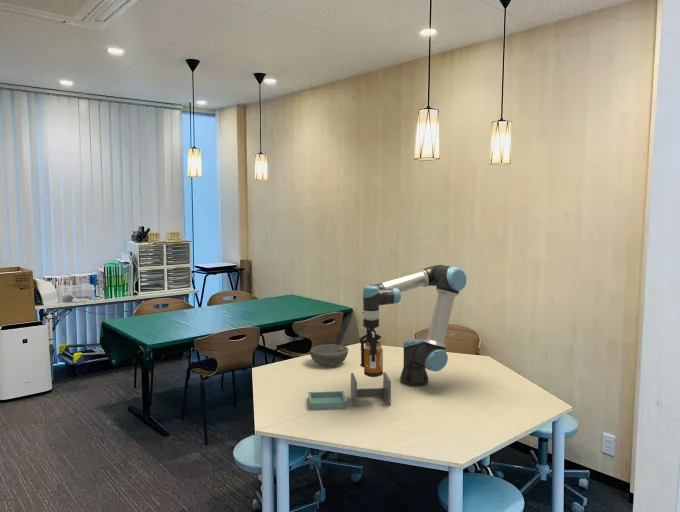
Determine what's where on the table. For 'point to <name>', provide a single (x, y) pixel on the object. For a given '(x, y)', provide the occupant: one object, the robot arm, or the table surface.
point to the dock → (371, 390)
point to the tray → (327, 400)
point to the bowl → (329, 354)
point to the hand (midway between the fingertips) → (371, 364)
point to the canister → (366, 357)
